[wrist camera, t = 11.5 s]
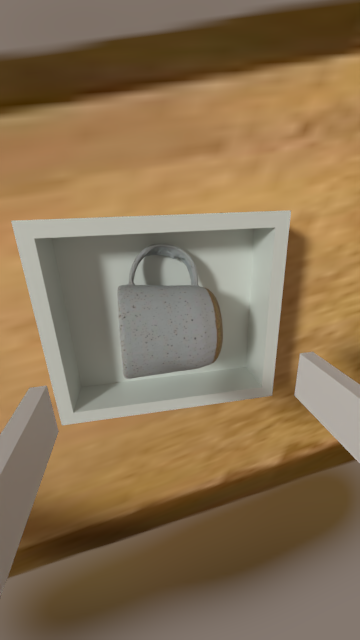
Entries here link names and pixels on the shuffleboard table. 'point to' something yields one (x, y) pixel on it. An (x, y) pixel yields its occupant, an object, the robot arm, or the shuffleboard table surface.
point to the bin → (113, 271)
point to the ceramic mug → (167, 322)
